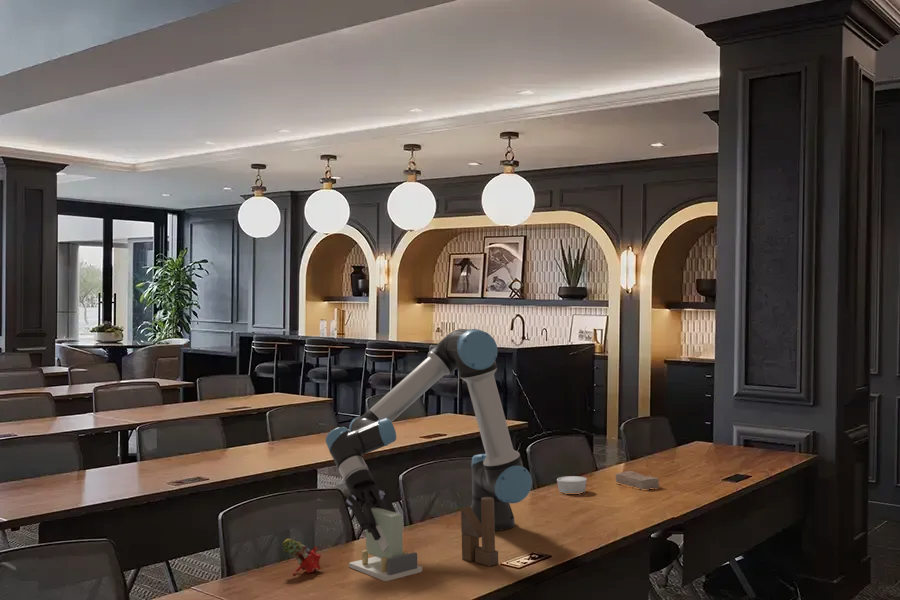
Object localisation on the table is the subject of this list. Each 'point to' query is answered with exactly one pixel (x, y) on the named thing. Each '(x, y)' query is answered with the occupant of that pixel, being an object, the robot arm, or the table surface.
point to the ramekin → (571, 484)
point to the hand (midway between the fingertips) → (392, 547)
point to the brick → (637, 480)
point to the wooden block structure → (479, 534)
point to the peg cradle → (387, 566)
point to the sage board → (386, 534)
